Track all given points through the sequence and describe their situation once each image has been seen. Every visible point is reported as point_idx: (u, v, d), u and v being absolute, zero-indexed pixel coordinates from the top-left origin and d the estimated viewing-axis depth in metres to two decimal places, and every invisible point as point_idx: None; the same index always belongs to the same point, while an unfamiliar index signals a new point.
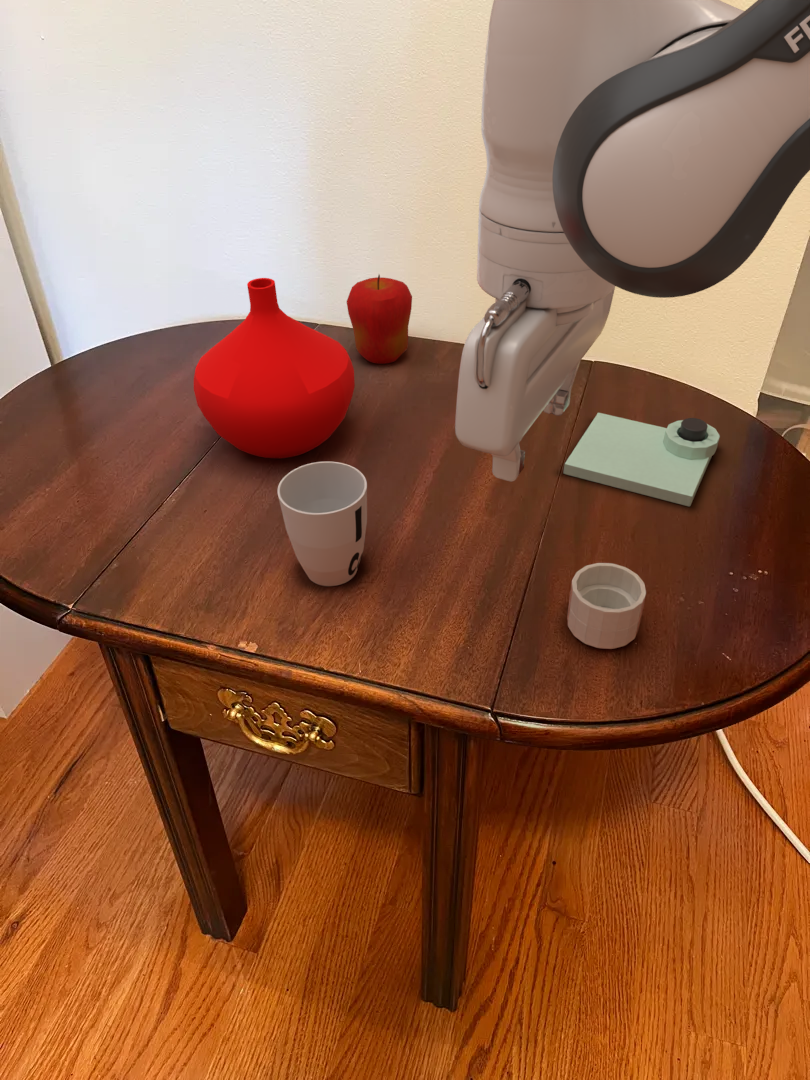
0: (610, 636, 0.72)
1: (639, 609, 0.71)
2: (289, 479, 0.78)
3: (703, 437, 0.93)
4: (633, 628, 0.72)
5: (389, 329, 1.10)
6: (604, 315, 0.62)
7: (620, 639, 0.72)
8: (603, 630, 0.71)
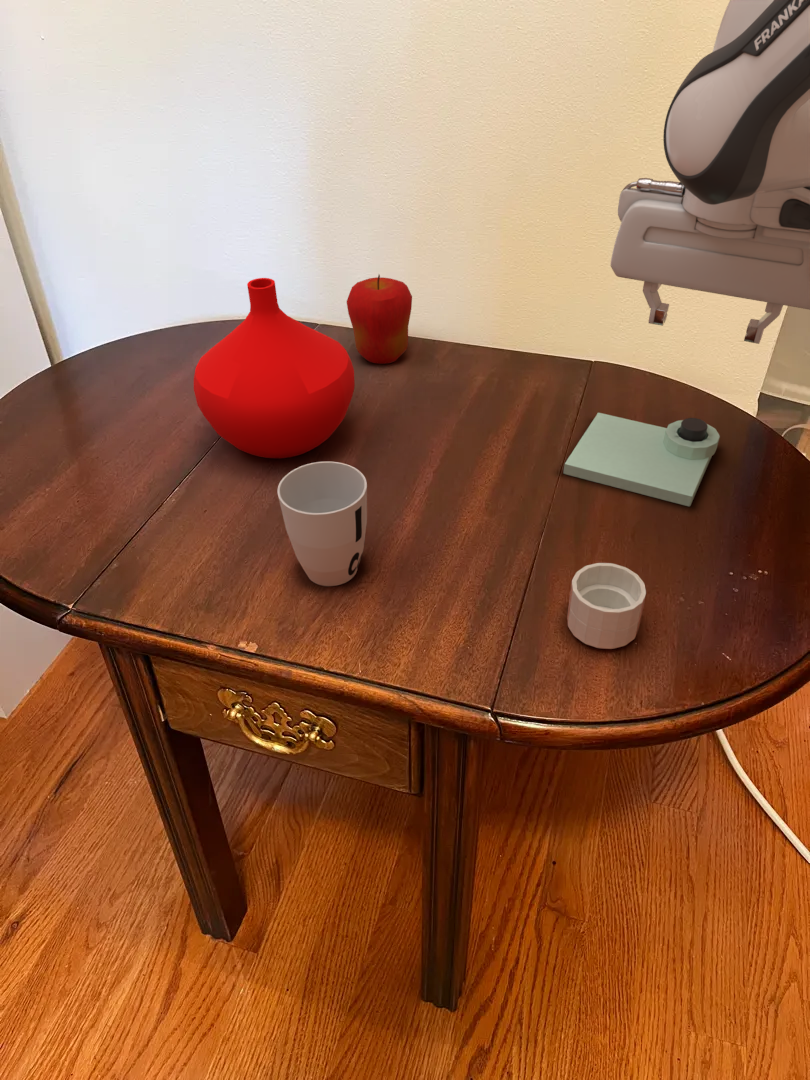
0: (610, 636, 0.72)
1: (639, 609, 0.71)
2: (289, 479, 0.78)
3: (703, 437, 0.93)
4: (633, 628, 0.72)
5: (389, 329, 1.10)
6: None
7: (620, 639, 0.72)
8: (603, 630, 0.71)
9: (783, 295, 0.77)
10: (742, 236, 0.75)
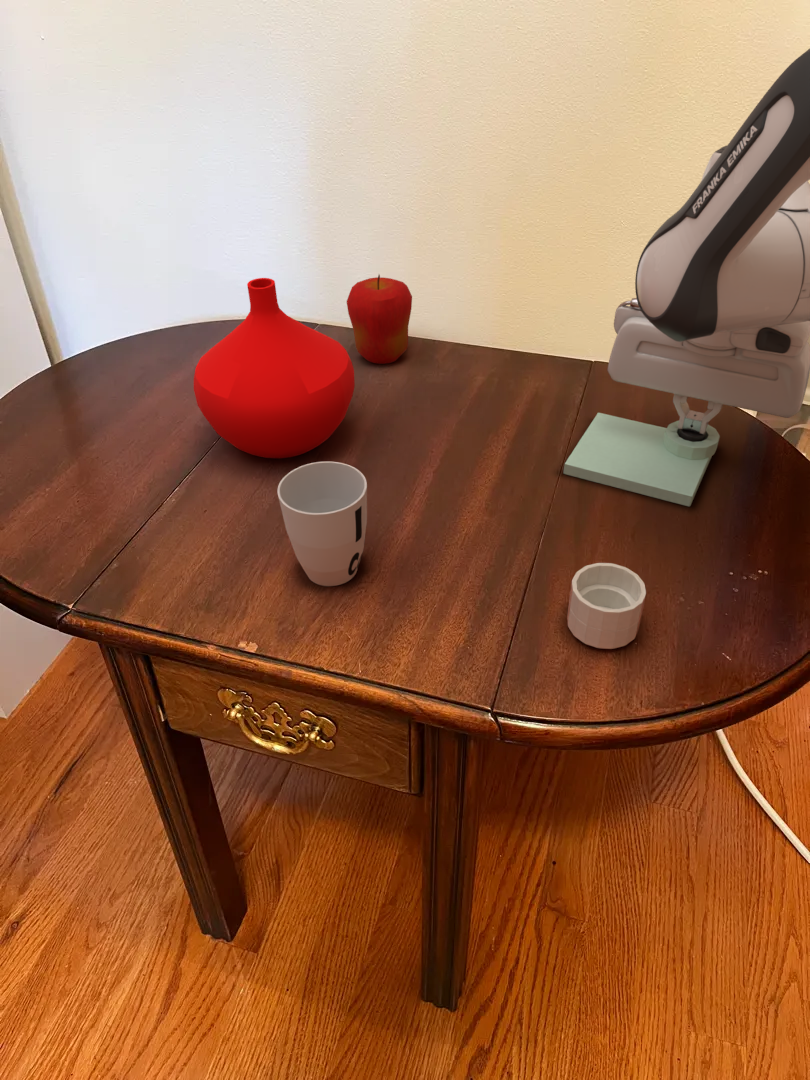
0: (610, 636, 0.72)
1: (639, 609, 0.71)
2: (289, 479, 0.78)
3: None
4: (633, 628, 0.72)
5: (389, 329, 1.10)
6: (786, 403, 0.85)
7: (620, 639, 0.72)
8: (603, 630, 0.71)
9: (761, 404, 0.86)
10: (724, 354, 0.84)
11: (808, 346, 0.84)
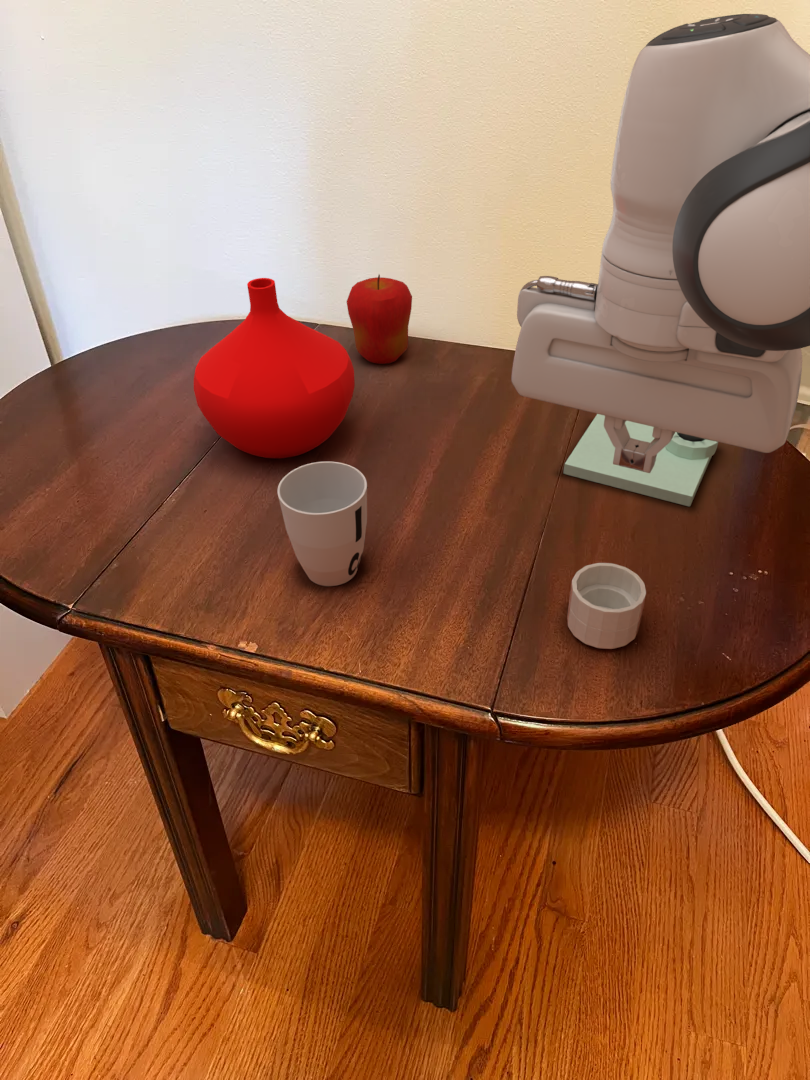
0: (610, 636, 0.72)
1: (639, 609, 0.71)
2: (289, 479, 0.78)
3: None
4: (633, 628, 0.72)
5: (389, 329, 1.10)
6: (764, 432, 0.57)
7: (620, 639, 0.72)
8: (603, 630, 0.71)
9: (728, 433, 0.58)
10: (670, 359, 0.56)
11: None
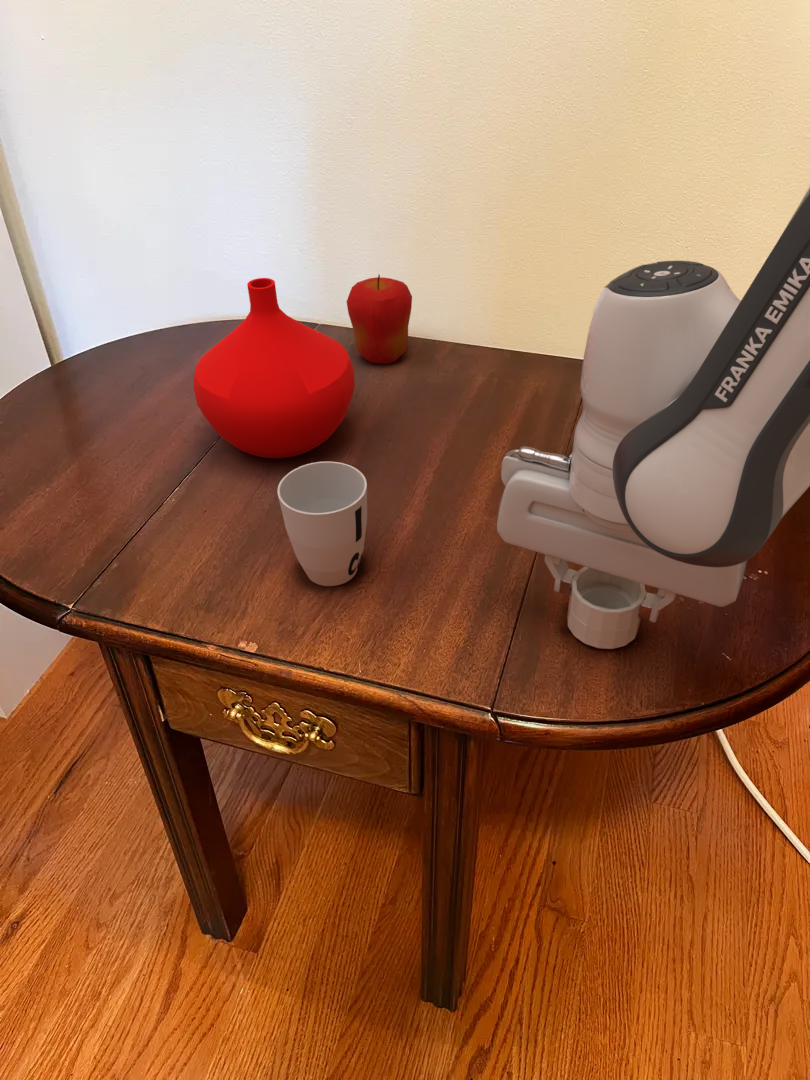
0: (610, 636, 0.72)
1: (639, 609, 0.71)
2: (289, 479, 0.78)
3: None
4: (633, 628, 0.72)
5: (389, 329, 1.10)
6: (718, 591, 0.65)
7: (619, 639, 0.72)
8: (603, 630, 0.71)
9: (687, 589, 0.66)
10: None
11: None
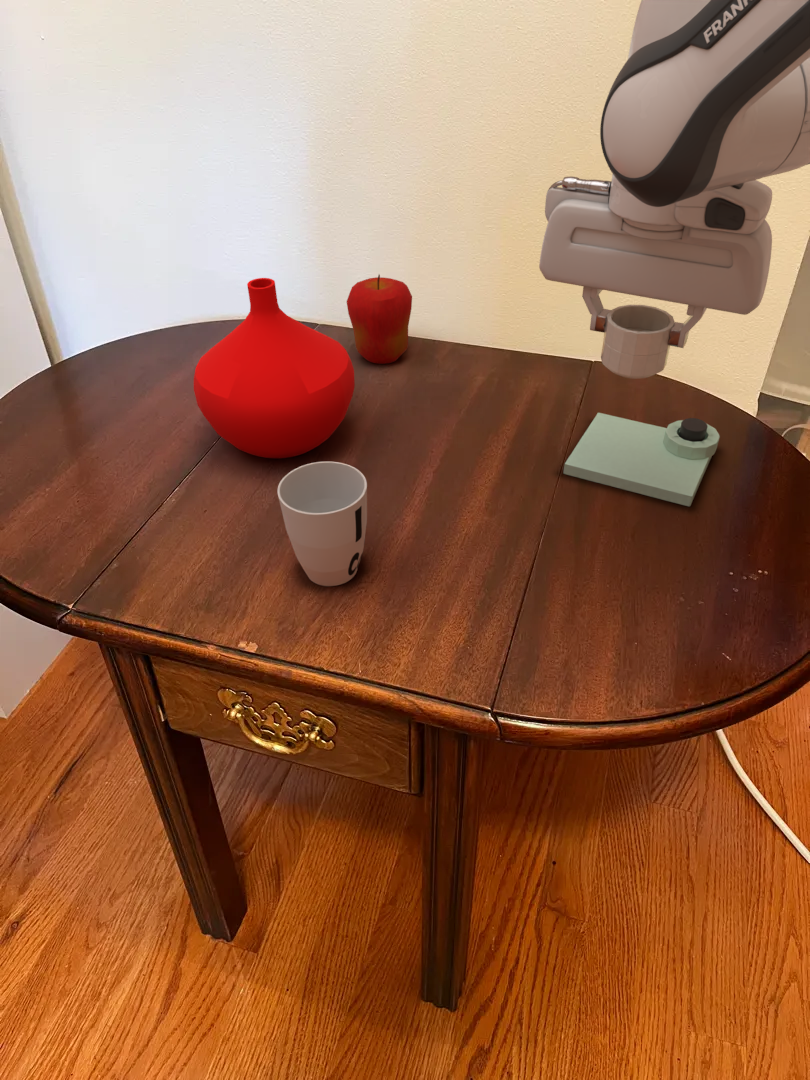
0: (642, 362, 0.79)
1: (668, 335, 0.78)
2: (289, 479, 0.78)
3: (703, 437, 0.93)
4: (662, 356, 0.79)
5: (389, 329, 1.10)
6: (742, 296, 0.72)
7: (650, 366, 0.79)
8: (636, 355, 0.79)
9: (714, 299, 0.73)
10: (669, 237, 0.71)
11: (768, 227, 0.71)
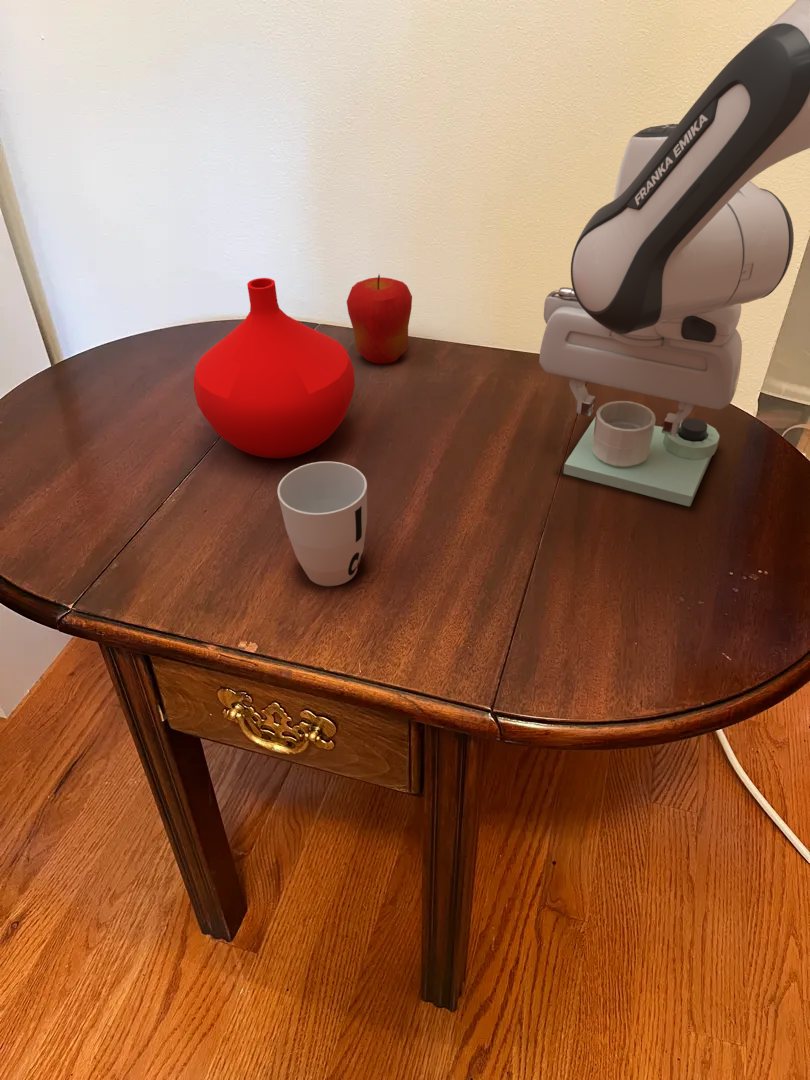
0: (627, 454, 0.90)
1: (650, 431, 0.89)
2: (289, 479, 0.78)
3: (703, 437, 0.93)
4: (645, 448, 0.91)
5: (389, 329, 1.10)
6: (716, 394, 0.82)
7: (634, 457, 0.90)
8: (621, 448, 0.90)
9: (692, 396, 0.84)
10: (651, 344, 0.82)
11: (738, 336, 0.82)
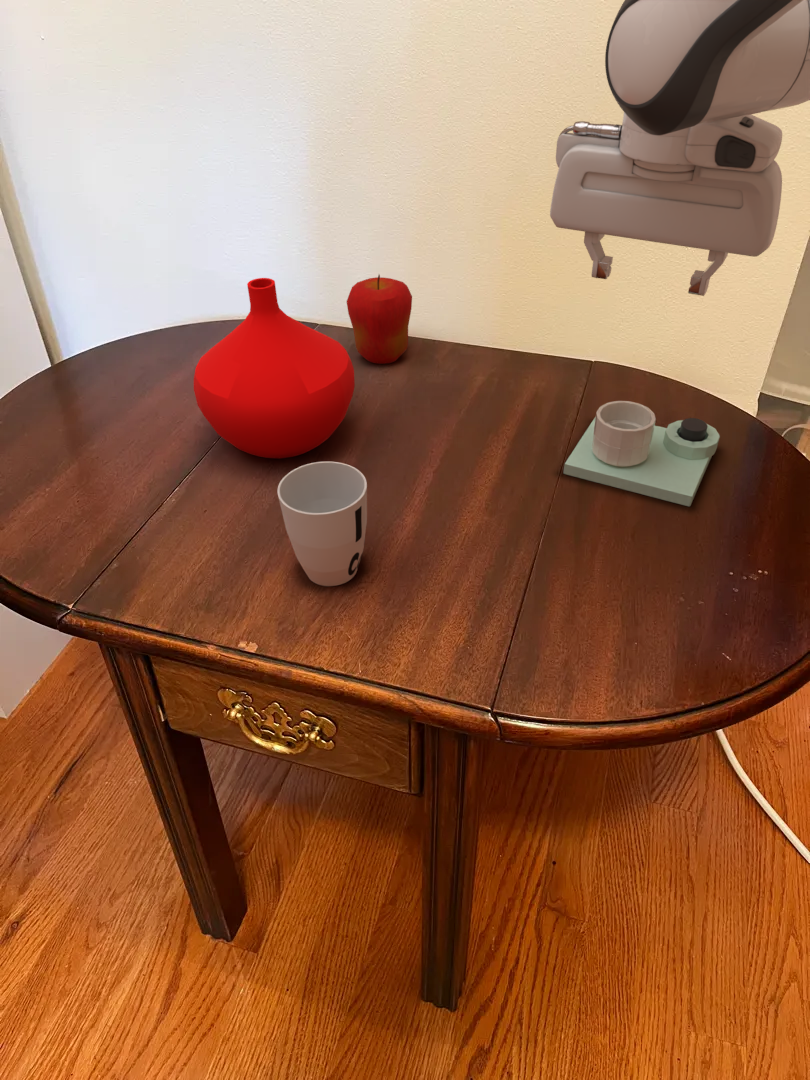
0: (627, 454, 0.90)
1: (650, 431, 0.89)
2: (289, 479, 0.78)
3: (703, 437, 0.93)
4: (645, 448, 0.91)
5: (389, 329, 1.10)
6: (753, 237, 0.73)
7: (634, 457, 0.90)
8: (621, 448, 0.90)
9: (724, 241, 0.74)
10: (679, 178, 0.72)
11: (778, 168, 0.72)
